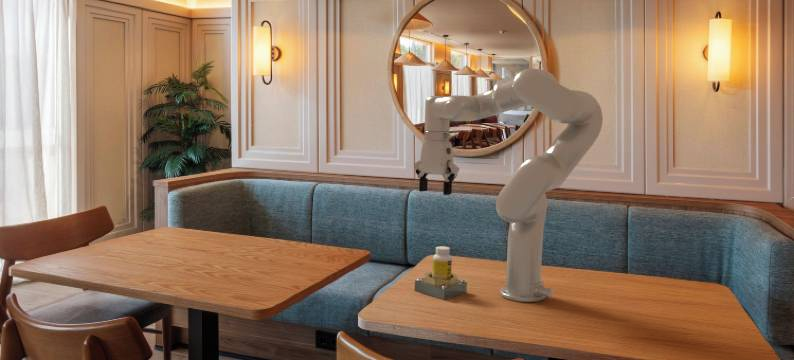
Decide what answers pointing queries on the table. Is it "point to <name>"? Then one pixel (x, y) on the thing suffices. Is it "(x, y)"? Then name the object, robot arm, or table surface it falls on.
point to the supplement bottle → (442, 263)
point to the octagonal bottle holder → (441, 286)
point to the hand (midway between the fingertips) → (435, 192)
